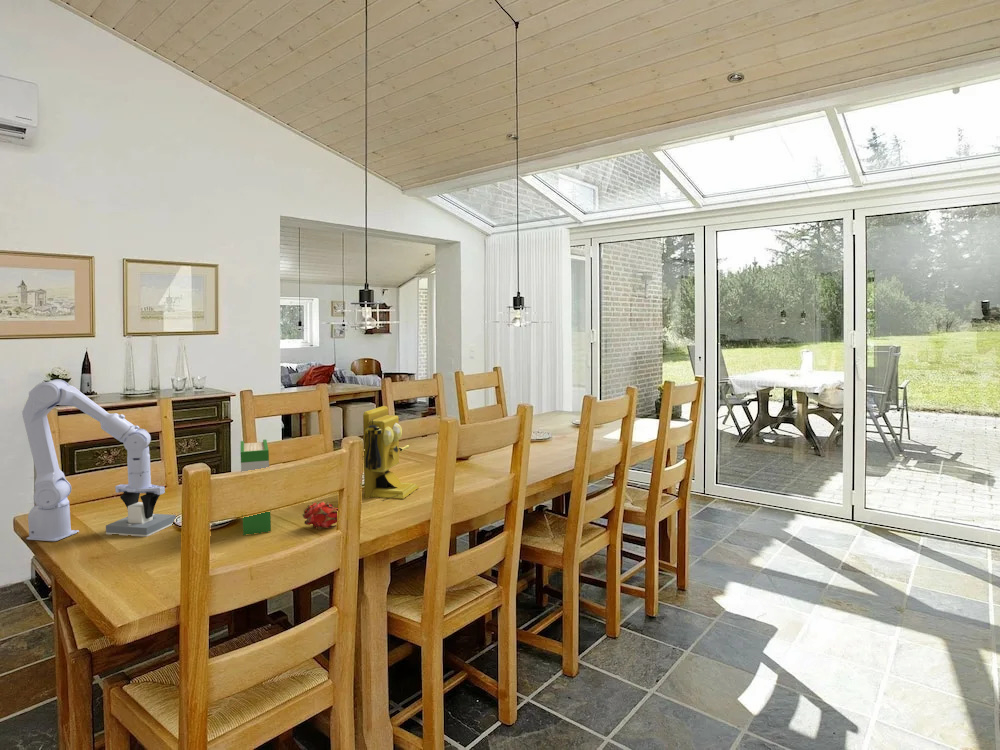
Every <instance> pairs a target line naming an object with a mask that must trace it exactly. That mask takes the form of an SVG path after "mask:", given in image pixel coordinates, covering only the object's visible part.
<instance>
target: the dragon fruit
mask: <svg viewBox="0 0 1000 750" xmlns="http://www.w3.org/2000/svg"><path fill="white" fill-rule="evenodd" d="M337 511H338V507H335V506H334V505H333V503H330V502H329V501H327V502H326V503H325V502H324V501H323V500H321V501H318V502H312V503H311V504H309V505H307V508H305V509H303V514H302V518H303V519H306V520H304V524H305V525H306V526H309V525H310V526H311V525H312V526H313V529H317V530H321V529H322V528H323V529H324V528H325V529H326V528H328V529H333V528H335V527H337V525H334V524H336V523H338V522H337Z"/></svg>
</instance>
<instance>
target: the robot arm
mask: <svg viewBox="0 0 1000 750" xmlns="http://www.w3.org/2000/svg"><path fill="white" fill-rule="evenodd" d="M57 405H58V406H65V407H66V406H69V407H75V408H76V409H77V410H80V411H81V412H83V413H84V414H86V415H88V416H89V417H90V418H92V419H94V420H96V421H97V422H99V423H100V429H101V430H102V431H104V432H105V433H107V434H108V435H110V436H111V437H113V438H114V439H116V440H117V441H119V442H120V443H123V447H124V448H125V450H126V452H127V457H126V461H127V463H126V464H127V465H126V466H127V481H128V483H127V484H125V483H124V484H123V483H121V484H118V485H115V486H114V487H115V493H122V494H121V495H120V496H119V497H120V499H121V500H122V502H123V503H124V504H125V506H126V509H127V510H128V506H130V505H132V504H135V503H137V502H139V499H140V500H141V502H143V506H144V513H145V518H146V519H148V518H150V517H152V515H153V514H154V510H155V506H156V503H157V502H158V500H159V498H160V497H161V495H164V494H166V491H165V490H166V489H165V486H163V485H156V484H152V477H151V474H152V472H151V454H150V446H149V445H150V443H151V441H152V436H151V434H150V433H149V432H148V431H147V429H144V428H140V426H139V425H135V424H133V423H132V422H130V421H129V420H127V419H126V415H124V414H123V413H121V414H119V413H117V412H114V413H109V412H108V411H106V410H105V409H104V408H103V407H101V406H100V405H99V404H97V403H96V402H95V401H93V400H92V399H90V398H89V397H88V395H85V393H82V392H81V391H80V390H79V389H78V388H77V387H75V385H74V386H73V385H72V384H69V383H68V382H67V381H65V380H63V379H60V378H59V379H58V378H57V379H51V380H50V381H44V382H39V383H38V384H36V385H35V386H34V387H33V388H32V389H31V390H30V391H28V397H27V399H26V402H25V404H24V407H23V408H22V411H21V412H22V418H23V422H24V427H25V431H26V432H25V433H26V436H27V439H28V443H29V448H30V452H31V455H32V459H33V464H34V467H35V471H36V478H35V481H34V489H35V491H34V494H33V502H34V503H35V504H36V505H34V506H33V507H32V508H31V509H30V510H29V511H28V515H27V521H28V523H27V524H28V536H27V537H26V540H27V541H28V540H29V541H44V542H45V541H46V542H58V541H60V540H63V539H65V538H67V537H70V536H72V535H75V534H78V533H79V532H80V530H78V529H77V530H76V529H72V526H71V525H72V523H71V509H70V500H69V499H68V497H69V496H70V495H71V493H72V485H71V483H70V482H69V481H68V480H67V478H66V475H65V472H63V471H62V470H61V469H60V465H59V462H58V456H57V451H56V449H55V444H54V439H53V435H52V431H51V428H50V422H49V419H48V414H49V413H50V412H51V411H52V410H53V409H54V408H55V407H56V406H57ZM141 494H143V495H141ZM77 532H78V533H77Z"/></svg>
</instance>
